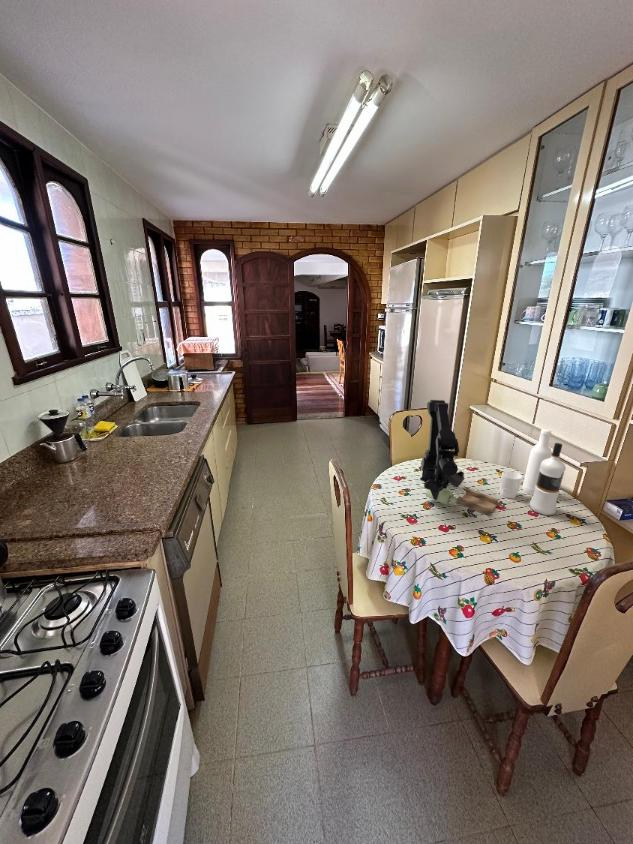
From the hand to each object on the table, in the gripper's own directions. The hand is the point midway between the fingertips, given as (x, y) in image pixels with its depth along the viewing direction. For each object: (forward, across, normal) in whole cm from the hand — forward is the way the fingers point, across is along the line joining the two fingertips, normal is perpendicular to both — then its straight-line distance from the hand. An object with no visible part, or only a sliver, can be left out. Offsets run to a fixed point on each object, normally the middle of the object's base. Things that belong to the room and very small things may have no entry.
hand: (438, 497), depth 148 cm
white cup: (+4, +29, -20) cm, 35 cm away
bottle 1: (+2, 0, -2) cm, 3 cm away
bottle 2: (+4, +40, -26) cm, 48 cm away
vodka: (+3, +26, -34) cm, 43 cm away
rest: (+3, +11, -12) cm, 17 cm away
